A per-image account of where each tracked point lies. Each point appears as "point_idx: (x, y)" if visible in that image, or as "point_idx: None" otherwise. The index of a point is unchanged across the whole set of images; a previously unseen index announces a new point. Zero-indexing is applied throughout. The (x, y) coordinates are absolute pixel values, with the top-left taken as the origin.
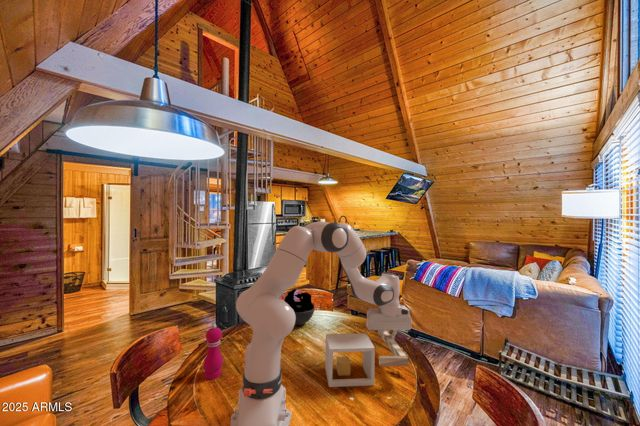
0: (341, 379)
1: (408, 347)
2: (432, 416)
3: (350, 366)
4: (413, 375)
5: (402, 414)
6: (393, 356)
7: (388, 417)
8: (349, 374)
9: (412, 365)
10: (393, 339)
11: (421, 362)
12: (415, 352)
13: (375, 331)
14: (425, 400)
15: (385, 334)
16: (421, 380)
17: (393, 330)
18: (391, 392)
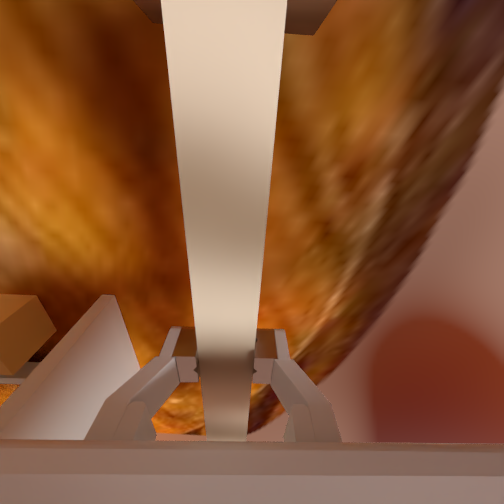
0: (20, 379)
1: (458, 129)
2: (249, 433)
3: (27, 360)
4: (289, 349)
5: (191, 427)
6: None
7: (160, 429)
8: (51, 332)
9: (327, 305)
10: (248, 403)
11: (385, 291)
12: (442, 204)
13: (151, 20)
14: (261, 411)
15: (207, 334)
16: (300, 367)
17: (288, 430)
18: (186, 391)
